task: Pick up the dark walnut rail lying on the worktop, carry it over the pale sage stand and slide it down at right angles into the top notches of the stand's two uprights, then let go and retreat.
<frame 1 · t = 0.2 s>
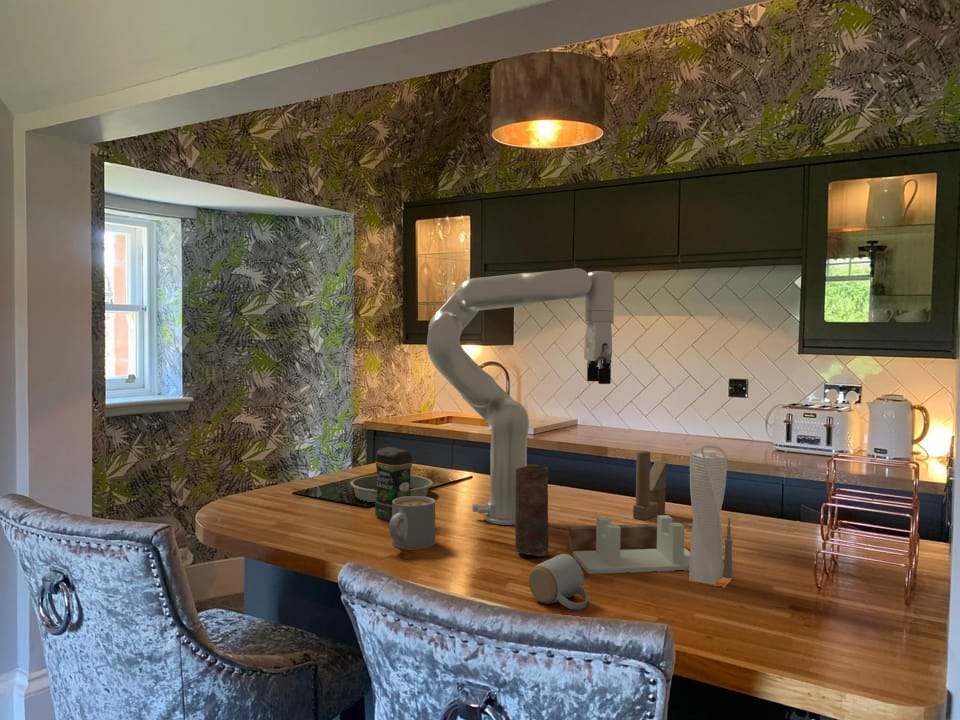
hand: (598, 382, 191), 36 cm above the kitchen island, tool pointing down, fingers open, 9 cm apart
candle: (531, 555, 160), on the kitchen island
coffee mug: (408, 545, 166), on the kitchen island
ceramic mug: (561, 602, 133), on the kitchen island
coffee jar: (393, 518, 191), on the kitchen island
cake pan: (391, 497, 216), on the kitchen island
brown wooden upright piece: (649, 516, 195), on the kitchen island
notched stand: (638, 562, 155), on the kitchen island
skyscraper: (707, 582, 145), on the kitchen island
walnut rail: (620, 547, 167), on the kitchen island
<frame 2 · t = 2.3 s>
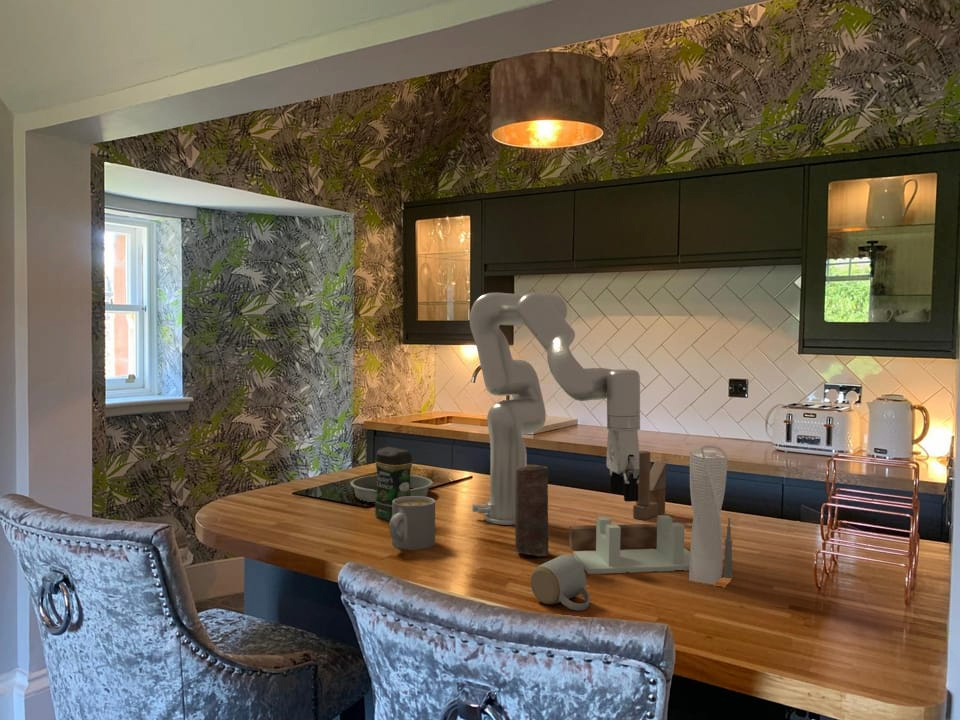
hand: (623, 496, 166), 12 cm above the kitchen island, tool pointing down, fingers open, 9 cm apart
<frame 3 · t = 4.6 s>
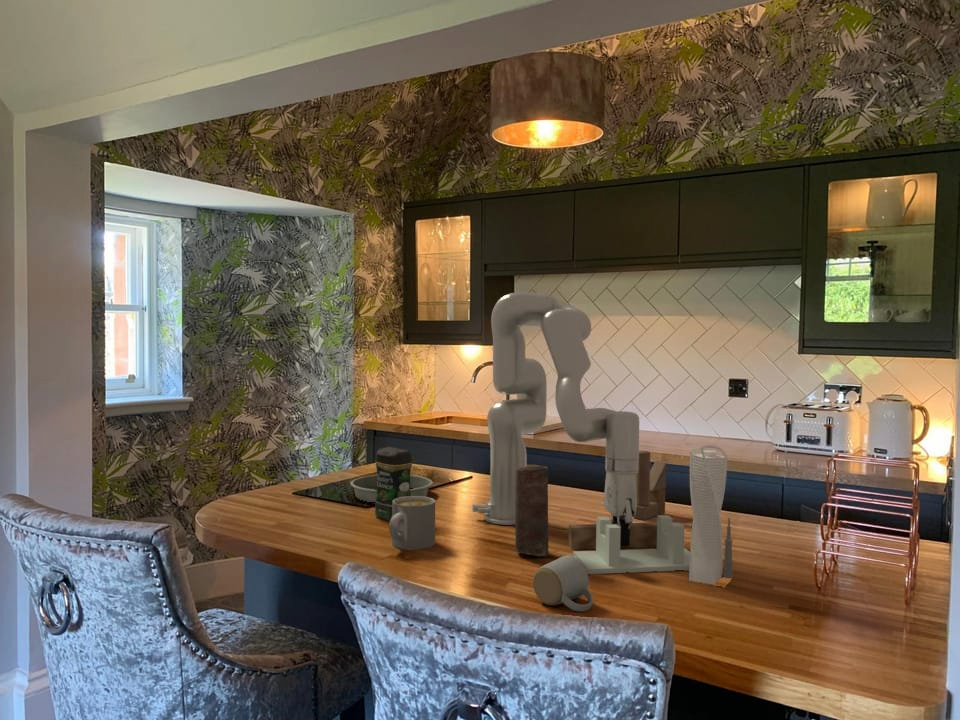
hand: (620, 543, 167), 1 cm above the kitchen island, tool pointing down, fingers closed on walnut rail, 2 cm apart
walnut rail: (620, 546, 167), on the kitchen island, touching gripper
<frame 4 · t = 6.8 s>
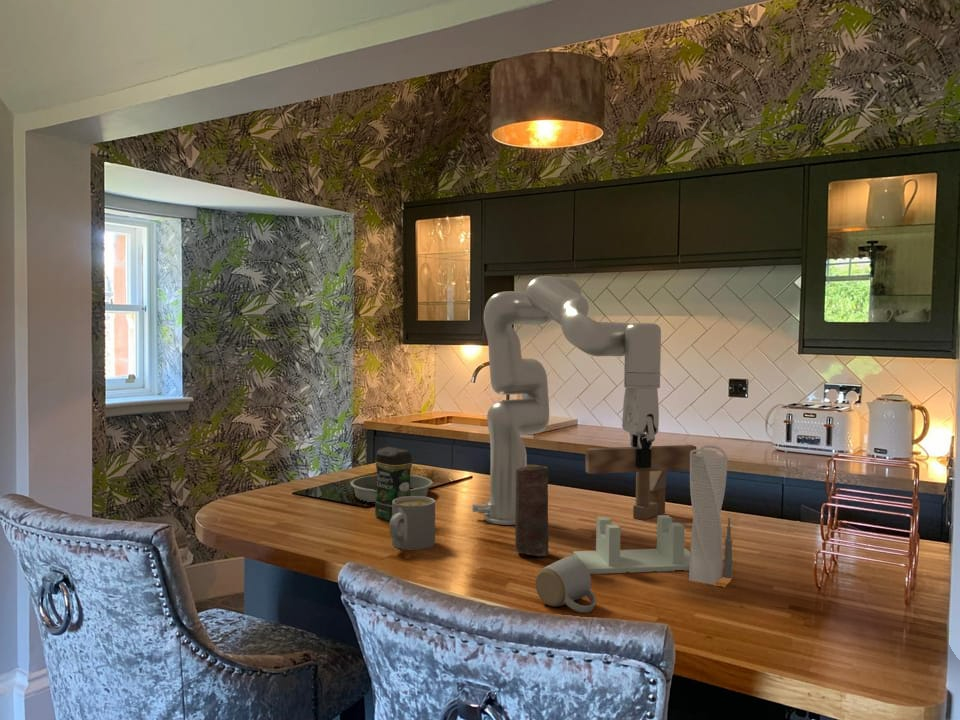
hand: (640, 465, 155), 21 cm above the kitchen island, tool pointing down, fingers closed on walnut rail, 2 cm apart
walnut rail: (641, 470, 155), point 20 cm above the kitchen island, touching gripper
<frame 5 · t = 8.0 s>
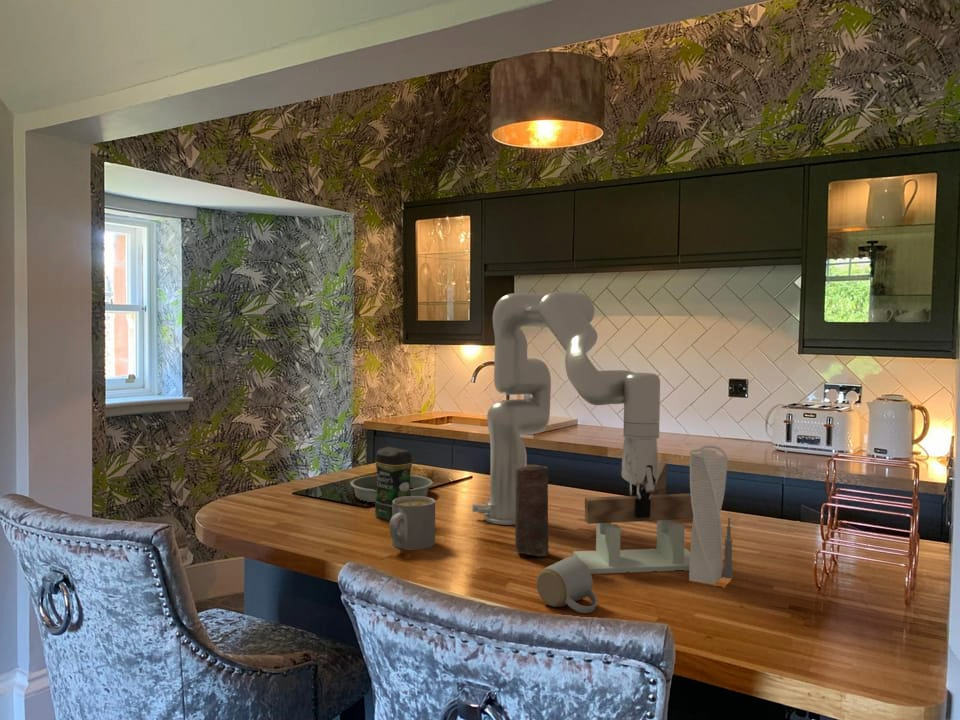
hand: (639, 514, 155), 10 cm above the kitchen island, tool pointing down, fingers closed on walnut rail, 2 cm apart
walnut rail: (640, 519, 155), point 9 cm above the kitchen island, touching gripper
when the fingers open (8 cm above the kitchen island, at t = 9.1 s): walnut rail stays where it is, resting on notched stand.
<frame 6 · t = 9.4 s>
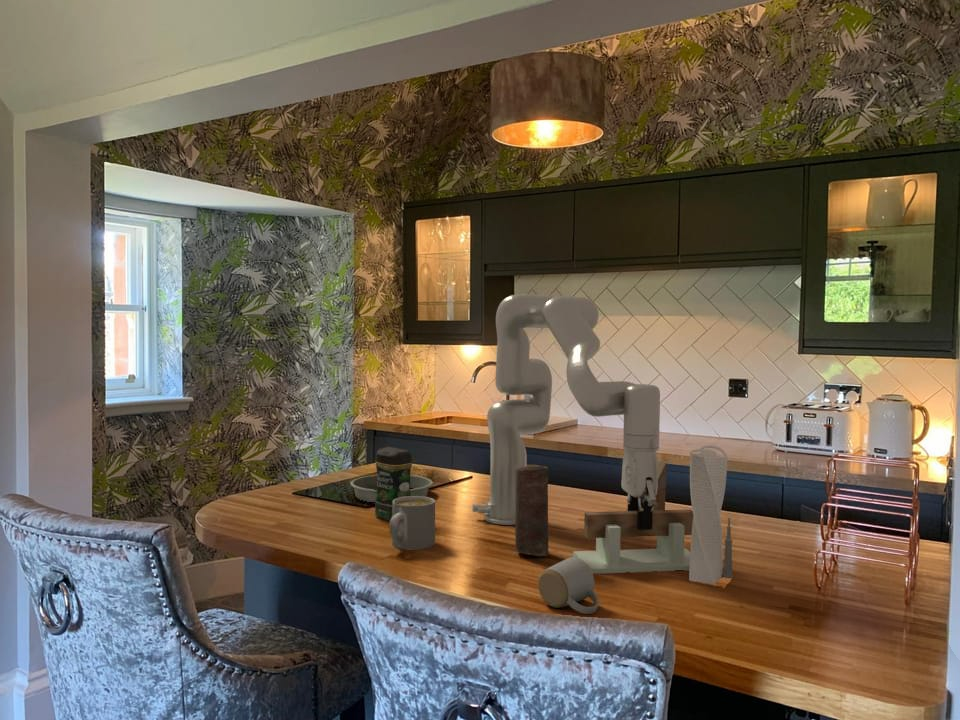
hand: (639, 524, 155), 8 cm above the kitchen island, tool pointing down, fingers open, 5 cm apart
walnut rail: (639, 535, 155), point 6 cm above the kitchen island, touching notched stand
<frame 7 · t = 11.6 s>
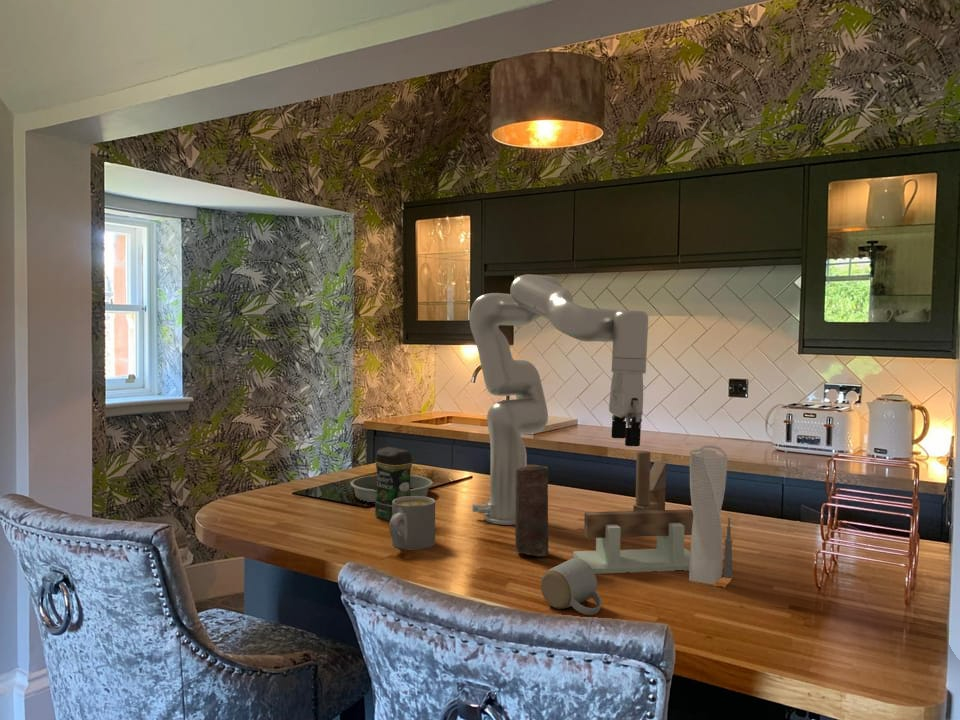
hand: (625, 441, 161), 25 cm above the kitchen island, tool pointing down, fingers open, 9 cm apart
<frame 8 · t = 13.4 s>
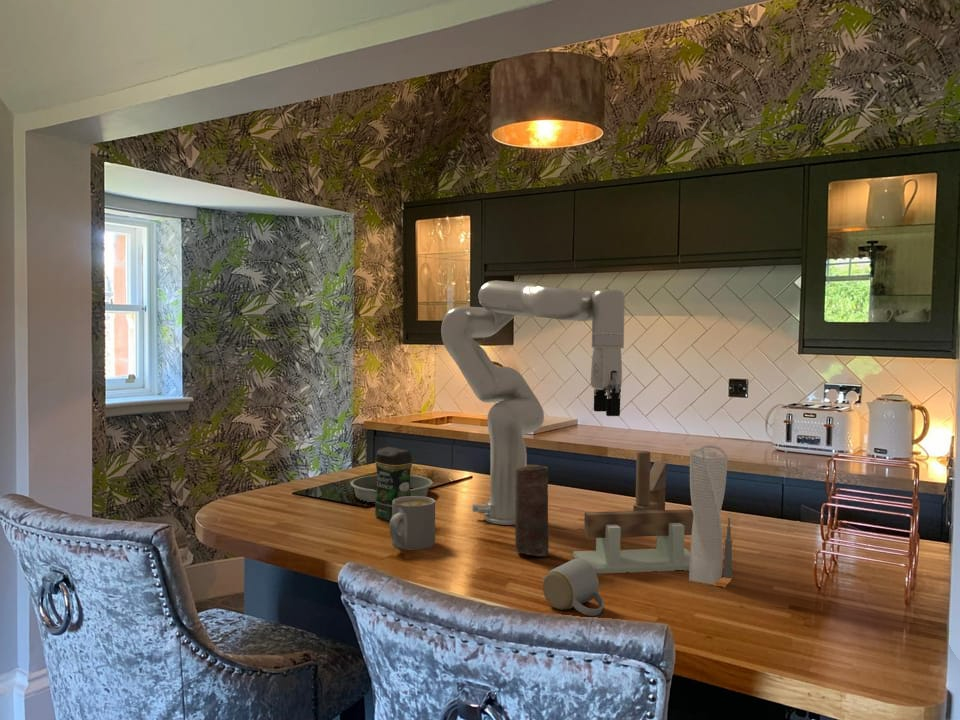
hand: (606, 413, 172), 30 cm above the kitchen island, tool pointing down, fingers open, 9 cm apart
at the end: walnut rail 0.1 cm off-centre on the notched stand, point 6.0 cm above the notched stand's base; walnut rail tilted 0°; the gripper is holding nothing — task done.
